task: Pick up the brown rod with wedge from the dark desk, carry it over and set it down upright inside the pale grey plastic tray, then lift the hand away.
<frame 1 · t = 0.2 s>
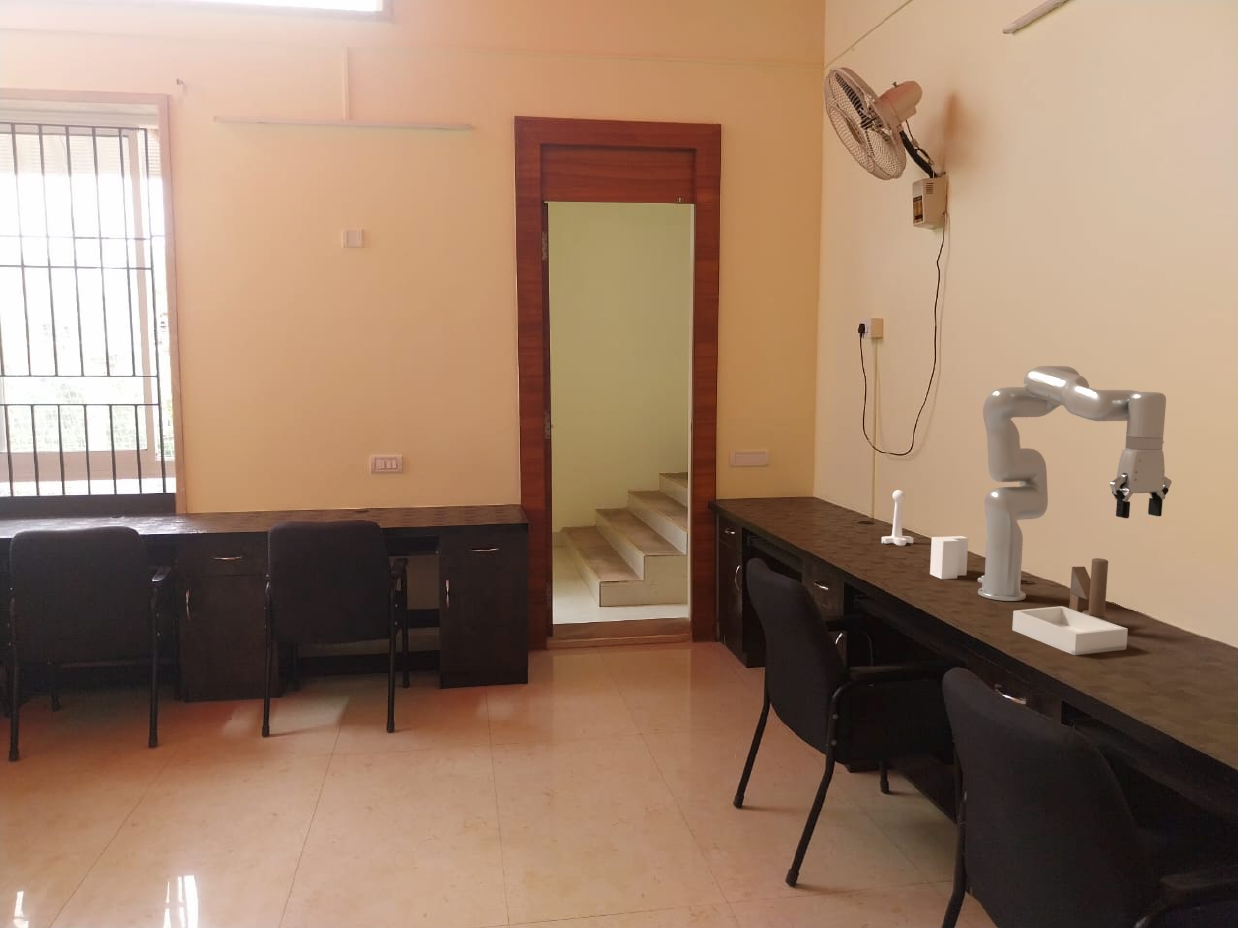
hand: (1138, 516, 208), 31 cm above the table, tool pointing down, fingers open, 9 cm apart
brown rod with wedge: (1087, 626, 225), on the table
tray: (1067, 639, 213), on the table
joystick: (898, 544, 326), on the table
corner bracket: (946, 574, 279), on the table
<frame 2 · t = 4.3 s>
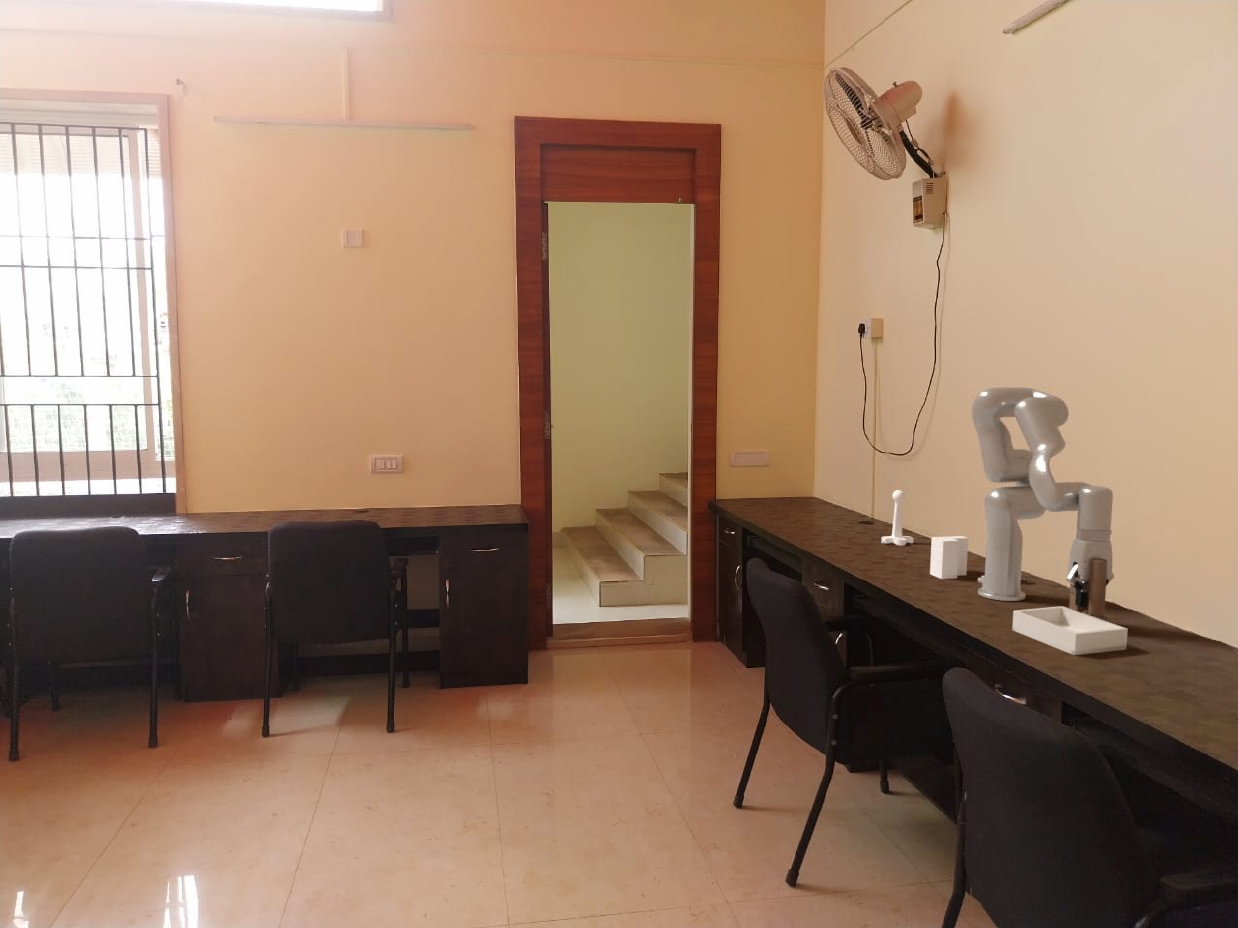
hand: (1088, 604, 224), 5 cm above the table, tool pointing down, fingers closed on brown rod with wedge, 4 cm apart
brown rod with wedge: (1087, 625, 225), on the table, touching gripper
everything else where it was.
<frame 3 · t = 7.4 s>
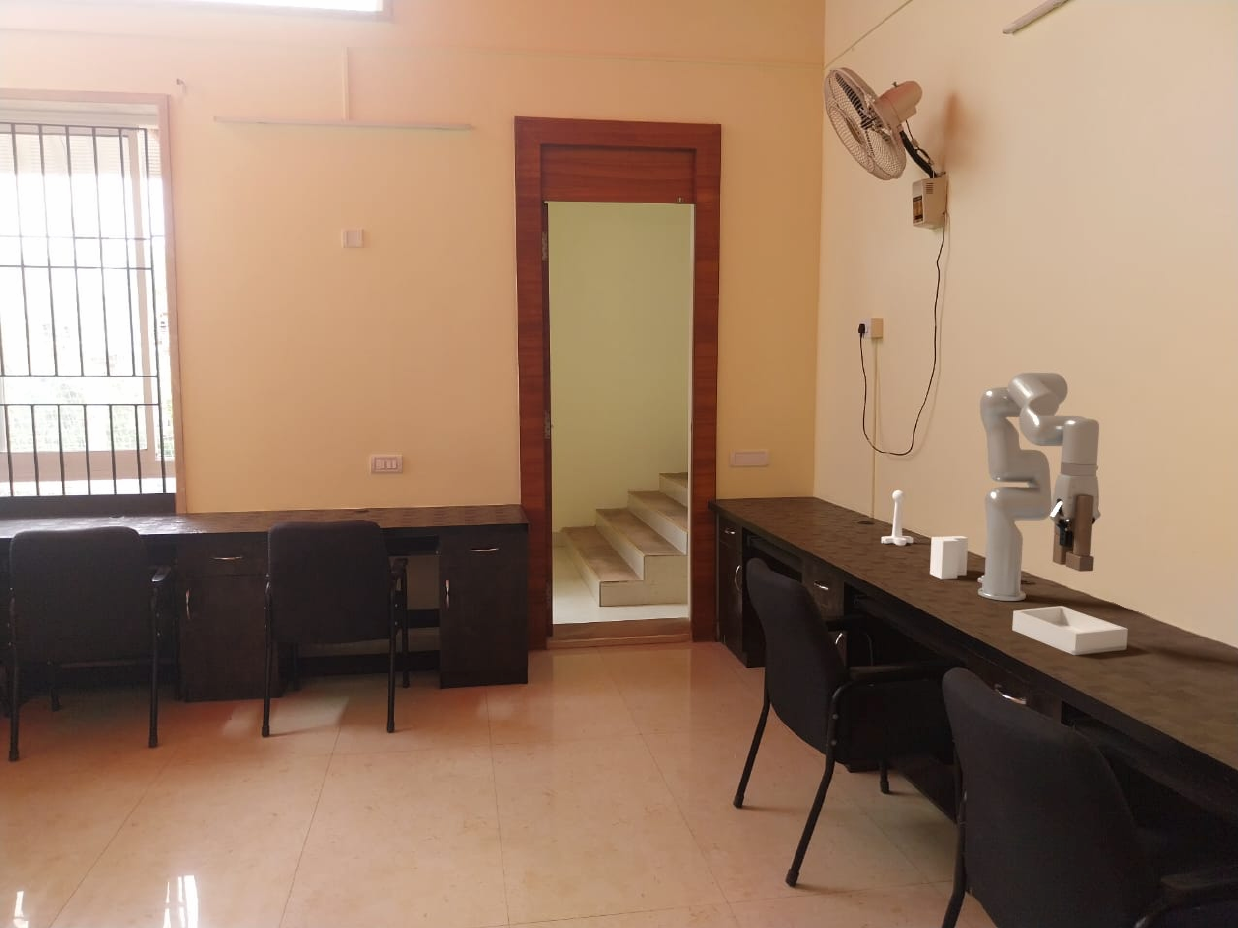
hand: (1073, 545, 211), 23 cm above the table, tool pointing down, fingers closed on brown rod with wedge, 4 cm apart
brown rod with wedge: (1072, 567, 211), point 18 cm above the table, touching gripper
everything else where it was.
when the fingers open (8 cm above the table, at t = 11.1 s): brown rod with wedge drops 1 cm, resting on tray.
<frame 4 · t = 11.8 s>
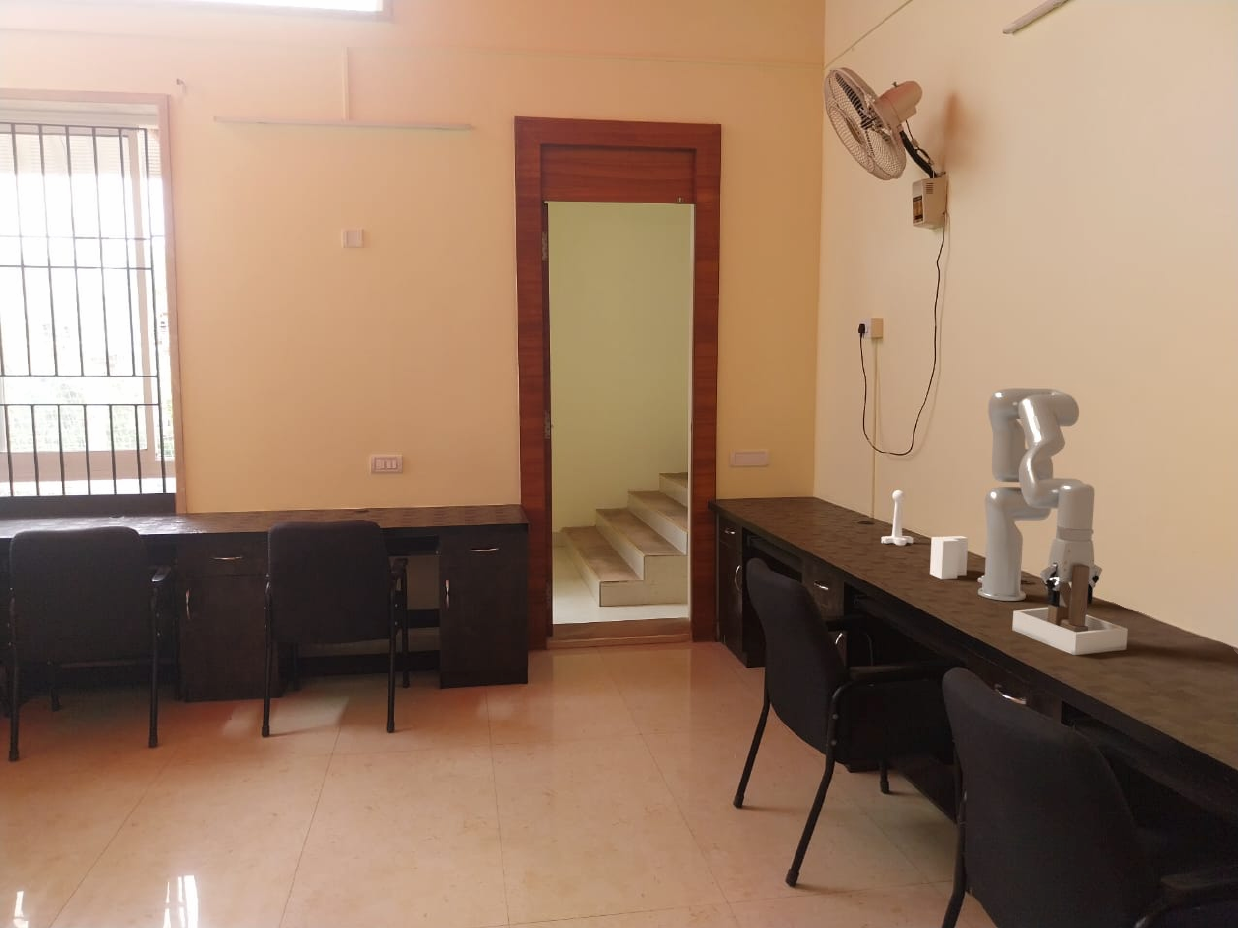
hand: (1069, 604, 212), 9 cm above the table, tool pointing down, fingers open, 9 cm apart
brown rod with wedge: (1066, 635, 213), point 1 cm above the table, touching tray
everything else where it was.
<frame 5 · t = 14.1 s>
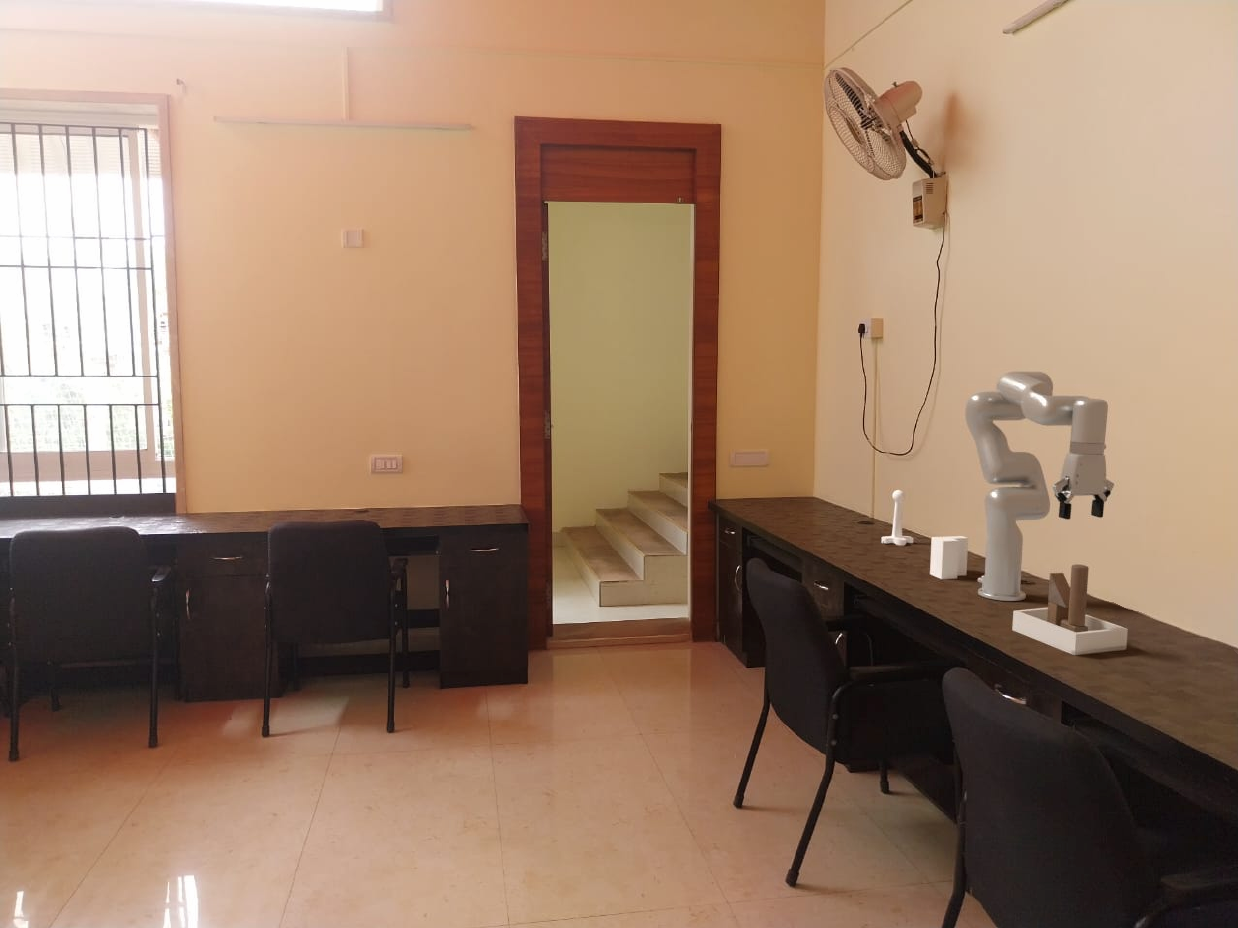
hand: (1080, 517, 218), 29 cm above the table, tool pointing down, fingers open, 9 cm apart
nothing on the table moved.
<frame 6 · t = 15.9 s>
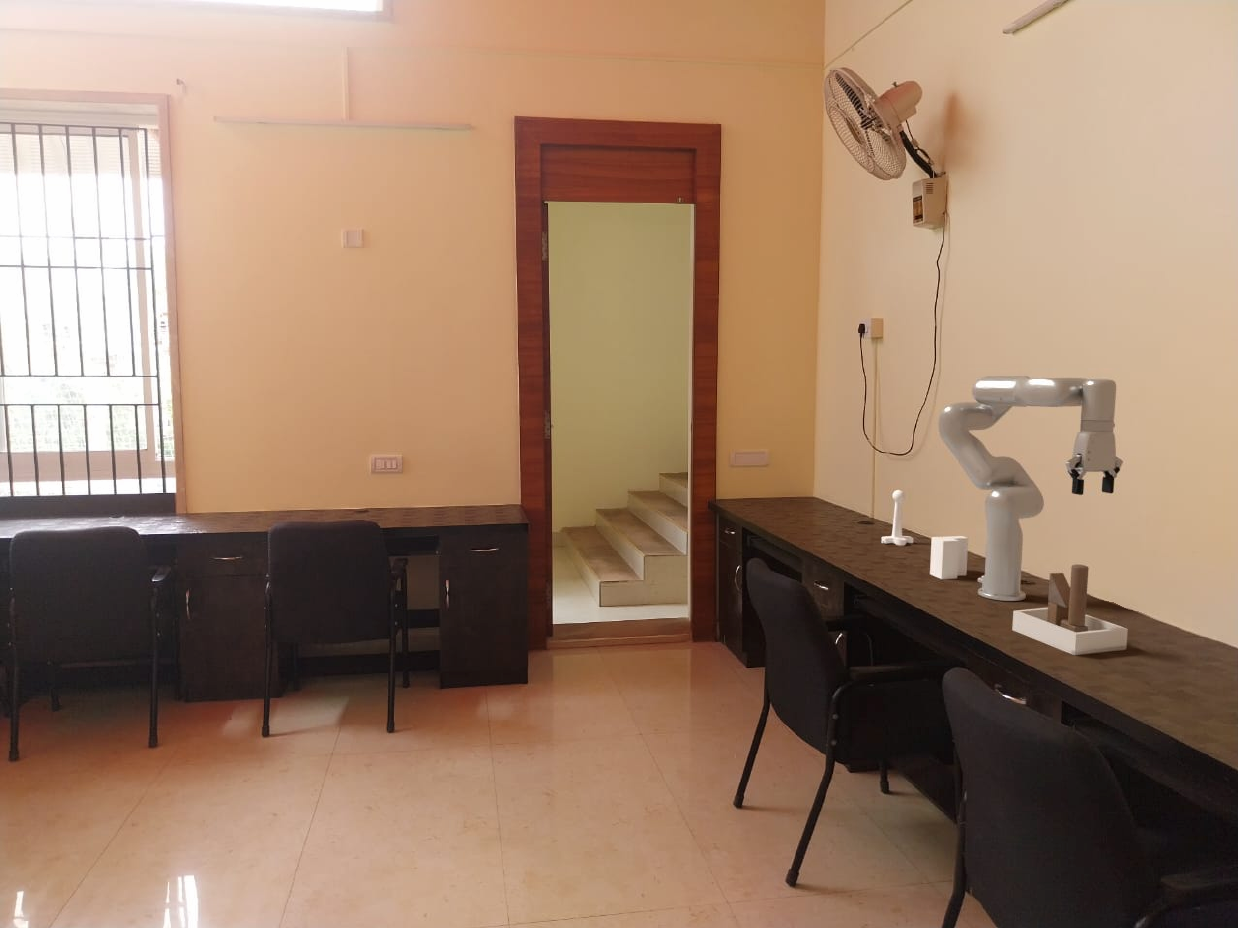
hand: (1092, 493, 227), 33 cm above the table, tool pointing down, fingers open, 9 cm apart
nothing on the table moved.
at the end: brown rod with wedge inside the target area on the tray (0.3 cm from its centre), point 0.8 cm above the tray's base; brown rod with wedge tilted 0°; the gripper is holding nothing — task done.
